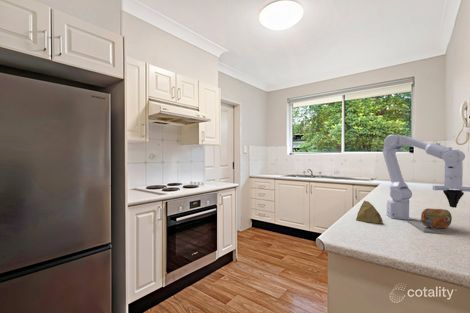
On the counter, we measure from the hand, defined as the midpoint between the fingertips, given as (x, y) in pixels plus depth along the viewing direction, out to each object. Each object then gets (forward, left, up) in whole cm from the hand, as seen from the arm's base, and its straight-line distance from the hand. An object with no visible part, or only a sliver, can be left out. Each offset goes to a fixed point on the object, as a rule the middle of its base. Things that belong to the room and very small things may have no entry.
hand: (452, 207), depth 101 cm
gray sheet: (-12, -1, -10) cm, 15 cm away
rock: (-33, +1, -10) cm, 34 cm away
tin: (-7, -1, -10) cm, 12 cm away
